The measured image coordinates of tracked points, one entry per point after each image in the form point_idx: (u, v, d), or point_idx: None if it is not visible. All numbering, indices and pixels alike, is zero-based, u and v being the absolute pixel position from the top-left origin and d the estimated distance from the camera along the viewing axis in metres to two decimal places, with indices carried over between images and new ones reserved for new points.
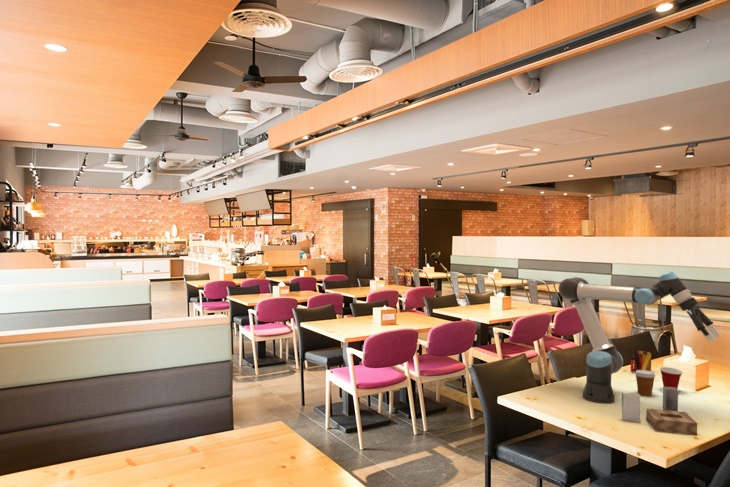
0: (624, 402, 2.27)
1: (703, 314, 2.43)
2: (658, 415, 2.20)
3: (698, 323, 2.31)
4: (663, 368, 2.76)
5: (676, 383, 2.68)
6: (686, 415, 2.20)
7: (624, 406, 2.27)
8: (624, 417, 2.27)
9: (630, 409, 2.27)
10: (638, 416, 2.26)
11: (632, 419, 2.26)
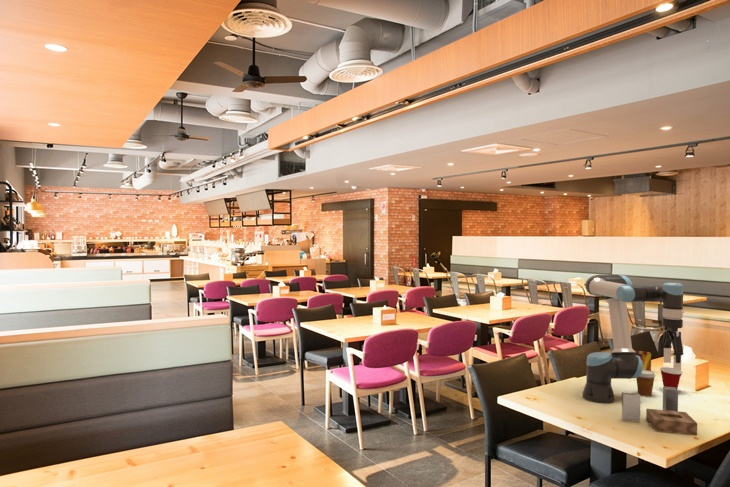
0: (624, 402, 2.27)
1: None
2: (658, 415, 2.20)
3: (680, 349, 2.11)
4: (663, 368, 2.76)
5: (676, 383, 2.68)
6: (686, 415, 2.20)
7: (624, 406, 2.27)
8: (624, 417, 2.27)
9: (630, 409, 2.27)
10: (638, 416, 2.26)
11: (632, 419, 2.26)
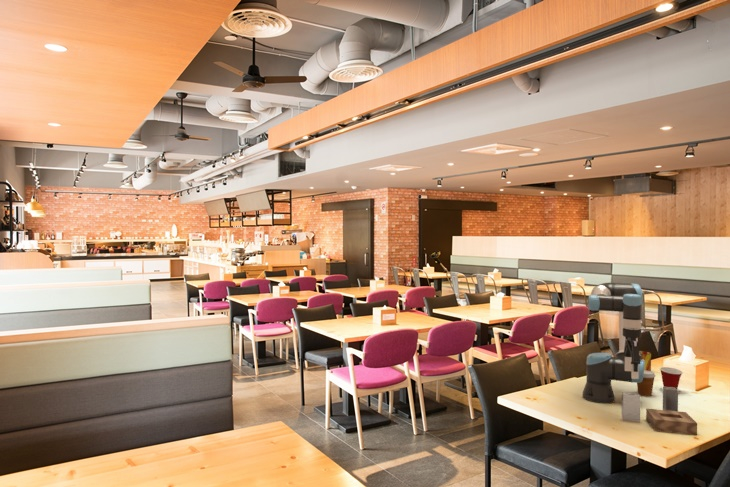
0: (624, 402, 2.27)
1: None
2: (658, 415, 2.20)
3: (637, 358, 2.18)
4: (663, 368, 2.76)
5: (676, 383, 2.68)
6: (686, 415, 2.20)
7: (624, 406, 2.27)
8: (624, 417, 2.27)
9: (630, 409, 2.27)
10: (638, 416, 2.26)
11: (632, 419, 2.26)
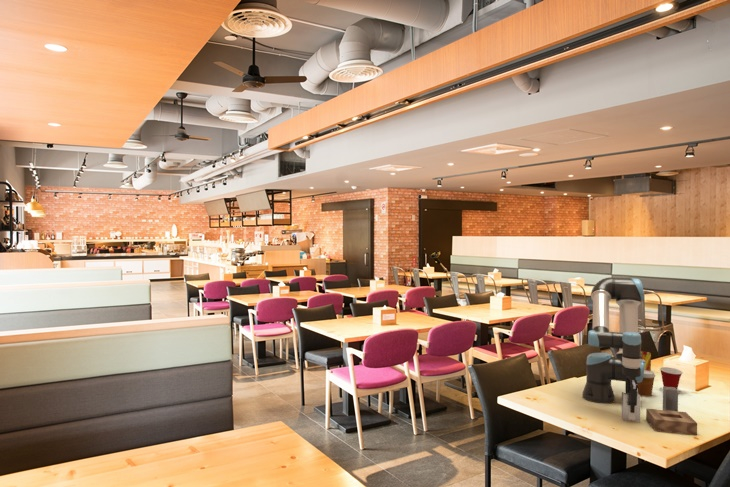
0: (624, 402, 2.27)
1: None
2: (658, 415, 2.20)
3: (634, 401, 2.23)
4: (663, 368, 2.76)
5: (676, 383, 2.68)
6: (686, 415, 2.20)
7: (624, 406, 2.27)
8: (624, 417, 2.27)
9: None
10: (638, 416, 2.26)
11: None
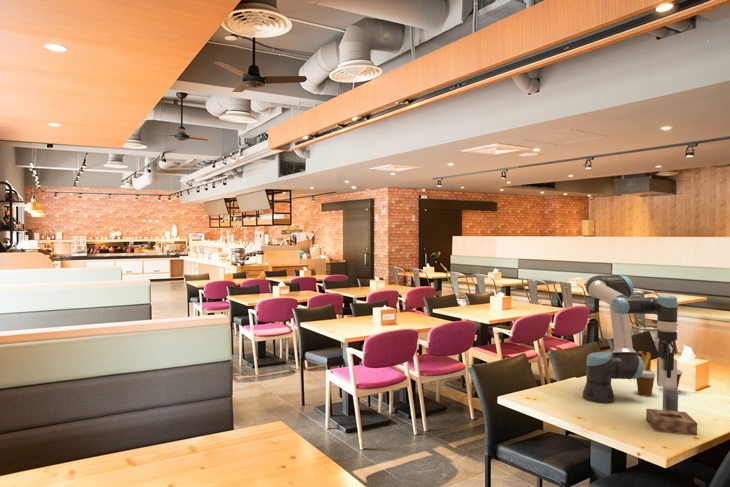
0: (660, 367, 2.20)
1: None
2: (658, 415, 2.20)
3: (671, 365, 2.15)
4: None
5: None
6: (686, 415, 2.20)
7: (660, 371, 2.20)
8: (660, 383, 2.20)
9: None
10: (675, 381, 2.18)
11: (668, 385, 2.19)
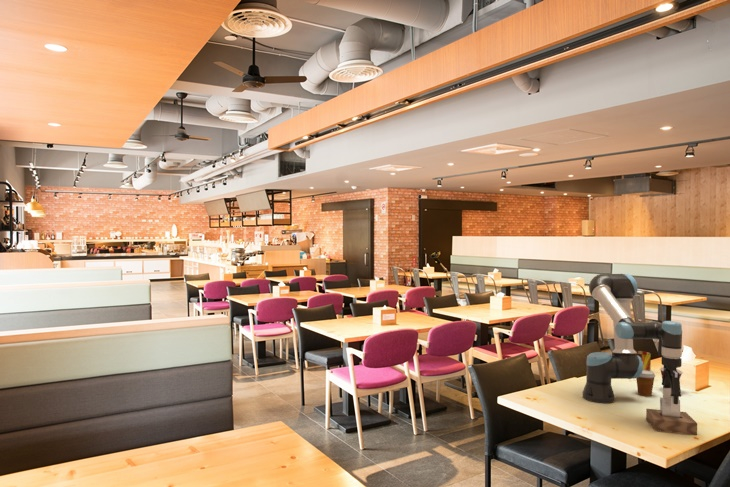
0: (663, 407, 2.20)
1: None
2: (658, 415, 2.20)
3: (678, 391, 2.12)
4: (663, 368, 2.76)
5: None
6: (686, 415, 2.20)
7: (663, 411, 2.20)
8: None
9: (670, 414, 2.19)
10: None
11: None
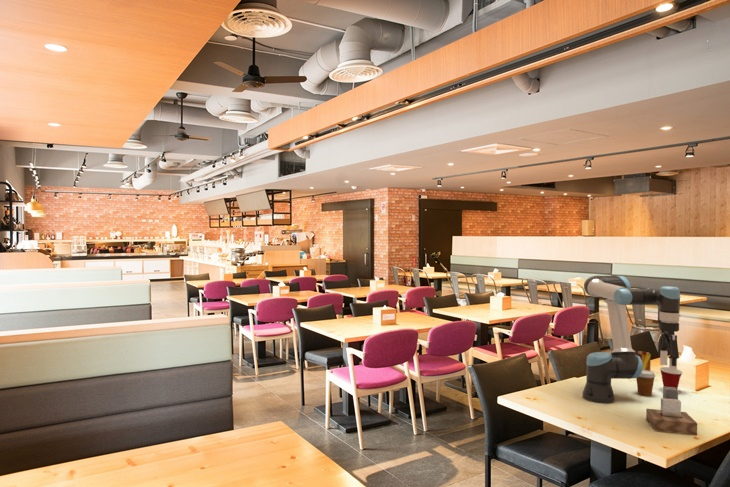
0: (664, 408, 2.19)
1: None
2: (658, 415, 2.20)
3: (676, 352, 2.13)
4: (663, 368, 2.76)
5: (676, 383, 2.68)
6: (686, 415, 2.20)
7: (664, 412, 2.19)
8: None
9: (670, 415, 2.19)
10: None
11: None
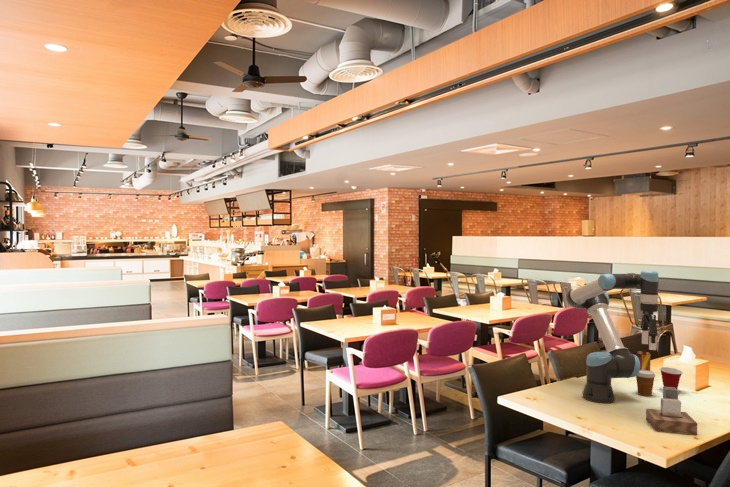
0: (664, 408, 2.19)
1: None
2: (658, 415, 2.20)
3: (655, 330, 2.32)
4: (663, 368, 2.76)
5: (676, 383, 2.68)
6: (686, 415, 2.20)
7: (664, 412, 2.19)
8: None
9: (670, 415, 2.19)
10: None
11: None
